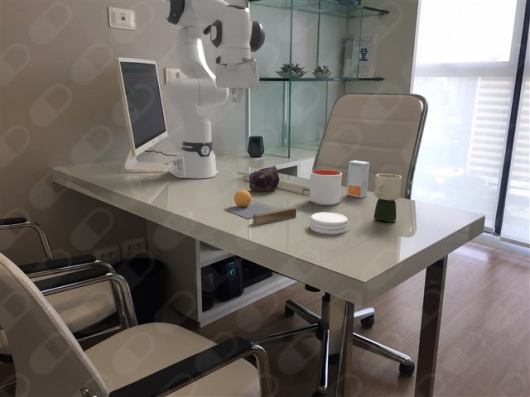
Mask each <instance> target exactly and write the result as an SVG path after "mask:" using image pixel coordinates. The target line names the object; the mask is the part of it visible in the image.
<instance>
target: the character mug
mask: <svg viewBox="0 0 530 397" xmlns="http://www.w3.org/2000/svg"><path fill="white" fill-rule="evenodd" d="M374 185H375V186H374V187H375V188H374V192H373V194H374V197H375V198H377V201H376V204H375V209H374V213H373V219H376V220H380V222H384V221H387V222H394V221H396V220H397V202H396V201H397V200H399V199H400V198H401V188H402V175H399V174H394V173H377V174H375V179H374Z"/></svg>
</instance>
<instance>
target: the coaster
mask: <svg viewBox="0 0 530 397" xmlns="http://www.w3.org/2000/svg"><path fill="white" fill-rule="evenodd" d="M309 220H310V221H309V228H310V230H311V231H312V232H315V233H318V234H323V235H340V234H344V233H346V232H347V231H348V222H349V220H348V217H347V216H346V215H343V214H341V213H337V212H329V211H328V212H325V211H324V212H316V213H313V214H311V215H310V217H309Z"/></svg>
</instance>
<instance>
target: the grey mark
mask: <svg viewBox="0 0 530 397" xmlns="http://www.w3.org/2000/svg"><path fill="white" fill-rule="evenodd" d="M225 209H226V210H225V211H227V210H228V211H227V212H229V211H230V212H229V213H232V214H234V215H236V214H237V216H238V217H241V216H242V217H241V218H244V217H245V218H244V219H246V218H247V220H249V219H250V220H251V219H253V215H254V214H259V213H264V212H269V211H274V210H275V209H273V208H270V207H268V206H264V205H263V204H260V203H256V202H254V203H250V204H249V205H248V206H246V207H239V206H232V207H228V208H225Z"/></svg>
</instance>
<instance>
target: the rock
mask: <svg viewBox="0 0 530 397" xmlns="http://www.w3.org/2000/svg"><path fill="white" fill-rule="evenodd" d="M248 180H249V182H248V183H249V185H248V186H249V189H250V191H253V192H255V193H256V192H267V193H268V192H273V191H274V190H276V189H278V186H279V183H280V176H279V172H278V169H277V167H276V165H272V166H268V167H265V168H260V169H259V170H257V171H256V170H255V171H254V172H252V173H250V174H249V175H248Z"/></svg>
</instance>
